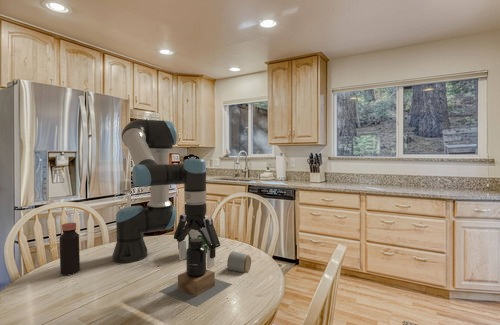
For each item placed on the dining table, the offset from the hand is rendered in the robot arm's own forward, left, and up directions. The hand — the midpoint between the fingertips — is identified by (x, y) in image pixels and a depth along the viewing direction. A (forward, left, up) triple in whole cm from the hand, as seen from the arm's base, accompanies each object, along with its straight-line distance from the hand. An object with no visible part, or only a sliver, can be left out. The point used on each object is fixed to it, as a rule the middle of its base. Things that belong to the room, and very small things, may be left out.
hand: (196, 263), depth 99 cm
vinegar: (-55, -17, -10) cm, 58 cm away
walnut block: (0, 0, -9) cm, 9 cm away
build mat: (0, 0, -10) cm, 10 cm away
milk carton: (-27, +29, -10) cm, 41 cm away
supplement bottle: (0, 0, -4) cm, 4 cm away
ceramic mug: (+3, +23, -10) cm, 25 cm away
